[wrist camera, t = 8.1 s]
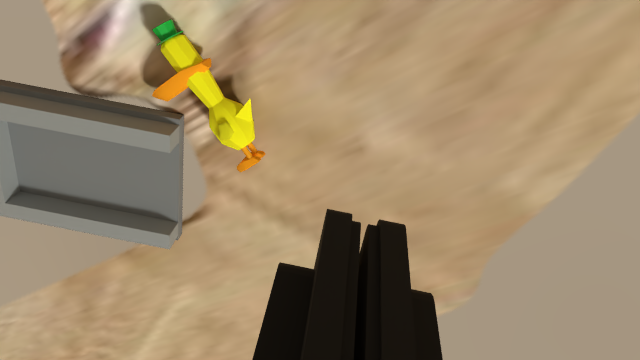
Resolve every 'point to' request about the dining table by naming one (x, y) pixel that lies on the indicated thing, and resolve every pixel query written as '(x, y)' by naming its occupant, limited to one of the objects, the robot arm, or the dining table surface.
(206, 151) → the dining table surface
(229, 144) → the toy figure
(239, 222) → the dining table surface
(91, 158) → the u rest
